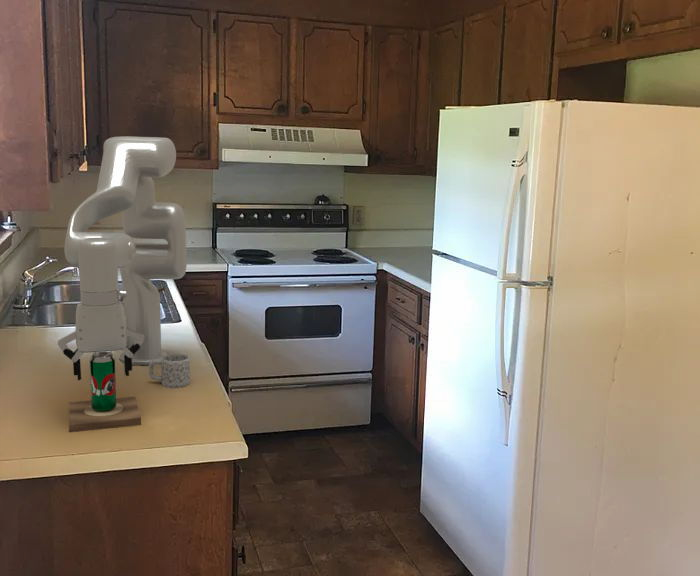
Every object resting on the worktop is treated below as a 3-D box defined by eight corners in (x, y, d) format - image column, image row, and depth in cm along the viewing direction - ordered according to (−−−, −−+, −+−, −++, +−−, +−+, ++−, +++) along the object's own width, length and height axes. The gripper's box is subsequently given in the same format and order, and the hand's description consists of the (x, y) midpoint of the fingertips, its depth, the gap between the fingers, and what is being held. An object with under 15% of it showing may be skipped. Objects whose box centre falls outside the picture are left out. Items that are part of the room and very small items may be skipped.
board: (69, 408, 163) (68, 401, 162) (135, 402, 167) (135, 395, 167) (69, 432, 150) (69, 424, 149) (141, 424, 155) (140, 416, 154)
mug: (193, 380, 185) (192, 354, 183) (185, 388, 178) (185, 362, 177) (153, 378, 185) (153, 352, 184) (144, 386, 179) (144, 360, 177)
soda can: (119, 404, 161) (117, 351, 159) (112, 413, 156) (110, 358, 154) (95, 404, 161) (93, 350, 158) (88, 412, 156) (86, 357, 153)
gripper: (141, 291, 160) (143, 367, 164) (55, 296, 154) (59, 374, 158) (144, 299, 153) (147, 378, 157) (54, 304, 147) (59, 385, 151)
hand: (103, 376), depth 157 cm, fingers open, 9 cm apart
